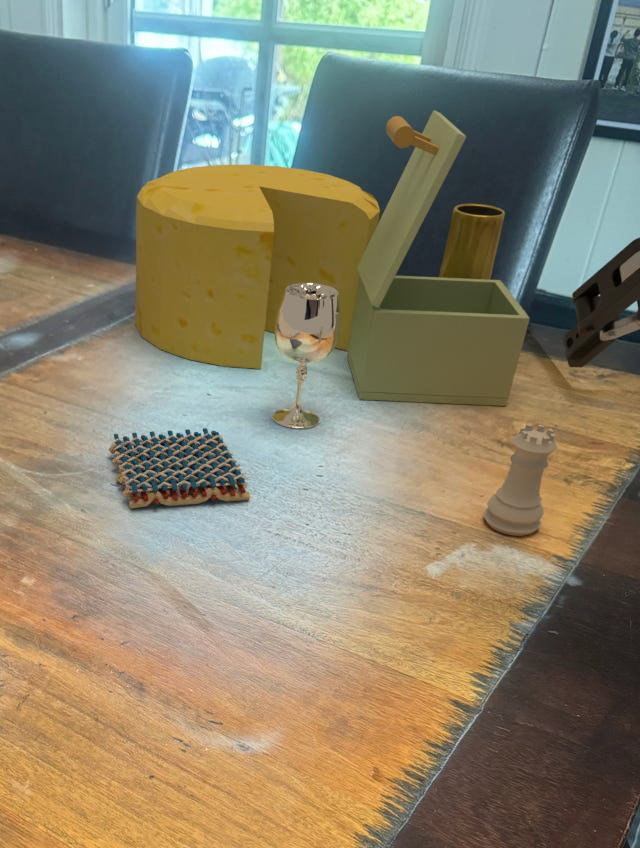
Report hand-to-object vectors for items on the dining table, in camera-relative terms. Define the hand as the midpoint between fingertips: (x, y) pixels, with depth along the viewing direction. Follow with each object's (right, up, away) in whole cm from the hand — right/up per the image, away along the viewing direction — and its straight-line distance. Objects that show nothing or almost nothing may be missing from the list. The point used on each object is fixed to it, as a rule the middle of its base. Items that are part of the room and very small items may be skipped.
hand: (630, 354), depth 61 cm
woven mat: (-29, -5, +19) cm, 35 cm away
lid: (-7, +22, +28) cm, 36 cm away
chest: (-3, +9, +38) cm, 39 cm away
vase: (+3, +15, +46) cm, 49 cm away
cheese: (-20, +18, +49) cm, 56 cm away
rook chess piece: (-2, -9, +15) cm, 18 cm away
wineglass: (-17, +3, +29) cm, 34 cm away
